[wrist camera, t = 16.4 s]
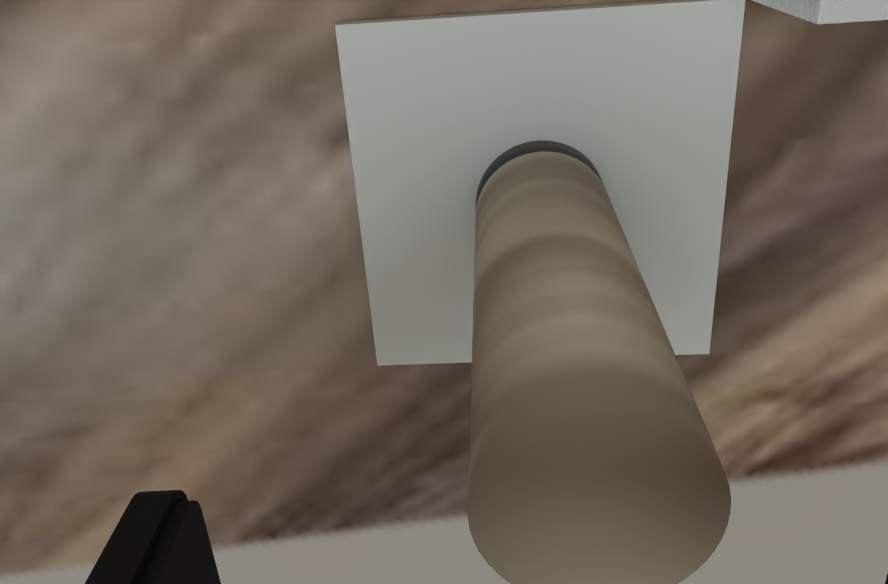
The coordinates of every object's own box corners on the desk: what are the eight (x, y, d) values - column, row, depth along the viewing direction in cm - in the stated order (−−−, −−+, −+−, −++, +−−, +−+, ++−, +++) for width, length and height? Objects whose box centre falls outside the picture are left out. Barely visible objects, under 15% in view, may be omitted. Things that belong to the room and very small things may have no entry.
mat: (704, 343, 24) (709, 353, 23) (379, 355, 24) (377, 365, 24) (738, -5, 19) (745, -2, 19) (338, 21, 20) (335, 25, 19)
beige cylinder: (603, 258, 22) (718, 605, 11) (478, 263, 22) (473, 606, 11) (606, 136, 20) (744, 403, 9) (472, 144, 20) (460, 411, 10)
